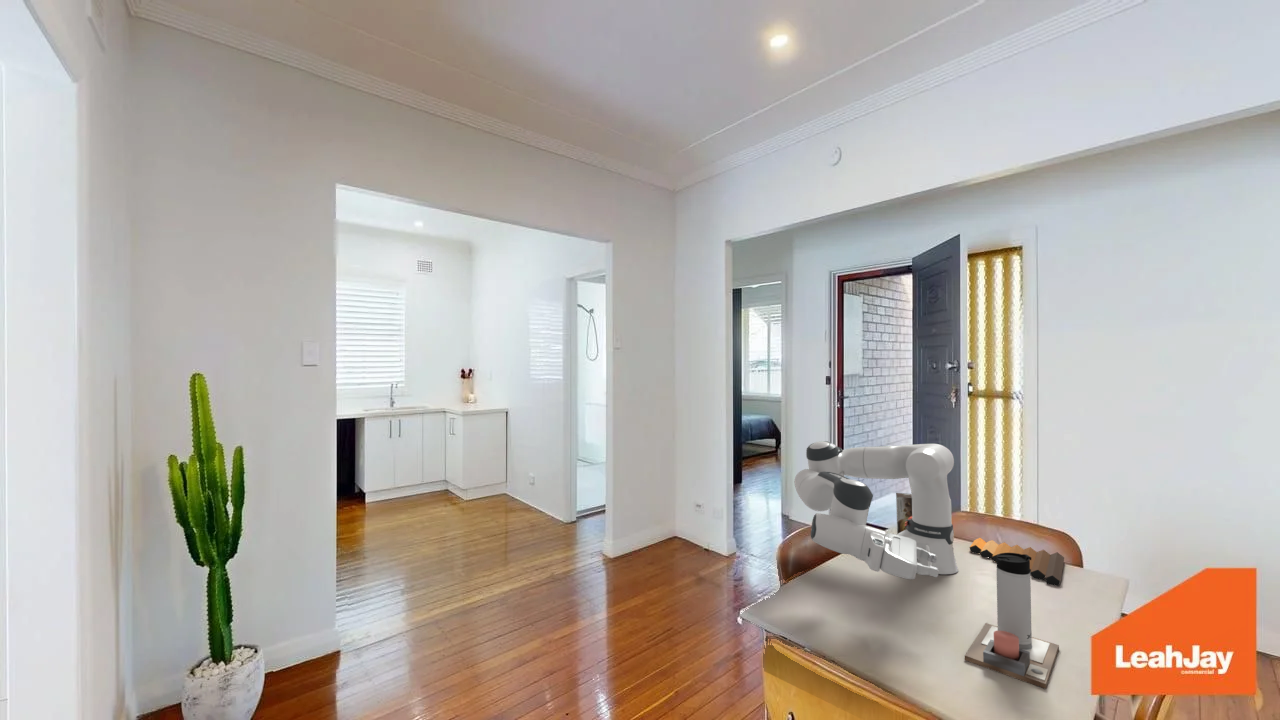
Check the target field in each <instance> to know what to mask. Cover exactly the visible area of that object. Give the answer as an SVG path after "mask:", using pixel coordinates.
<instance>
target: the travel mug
mask: <svg viewBox="0 0 1280 720" xmlns="http://www.w3.org/2000/svg"><path fill="white" fill-rule="evenodd" d="M1030 560H1031V557H1030V556H1028V555H1027V554H1023V555H1022V554H1018V553H1001V554H998V555H997V562H996V607H997V608H996V609H997V611H996V613H997V614H996V615H997V617H996V618H997V626H998V631H1006V632H1009V633H1012V634H1014V635H1016V636H1017V637H1018V638H1019V649H1029V648H1031V647H1032V640H1031V639H1032V637H1033V636H1032V635H1033V634H1032V594H1031V591H1032V589H1031V588H1032V587H1031V584H1032V583H1031V572H1030Z"/></svg>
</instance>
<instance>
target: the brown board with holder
mask: <svg viewBox="0 0 1280 720" xmlns="http://www.w3.org/2000/svg"><path fill="white" fill-rule="evenodd" d="M994 631H998V625H994V624H992V623H987V622H985V623H984V625H983V626H982V628H981V629H980V631H979V633H978V634H977V635H976V637H975V639H974V640H973V642H972V643H971V644H970V646H969V648H968V649H967V651H966V652H965V654H964V661H965V662H970V663H972V664H975V665H978V666H980V667H984V668H986V669H988V668H989V669H988V670H991V671H994V672H996V673H997V672H998V673H1000V674H1003V675H1006V676H1008V677H1010V678H1014V679H1017V680H1020V681H1022V682H1024V683H1028V684H1030V685H1032V686H1033V685H1034V686H1037V687H1039V686H1040V687H1039V688H1042V689H1044V688H1045V690H1046V689H1047V687H1048V683H1049V681H1050V678H1051V676H1052V672H1053V669H1054V665H1055V662H1056V659H1057V657H1058V653H1059V650H1060V645H1059V644H1057V643H1053V642H1051V641H1046V640H1044V639H1040V638H1037V637H1034V636H1032V639H1031V640H1032V647H1031V648H1029V649H1019V660H1013V659H1010V658H1007V657H1004V656H1001V655H998V654H995V653H994Z"/></svg>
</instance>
